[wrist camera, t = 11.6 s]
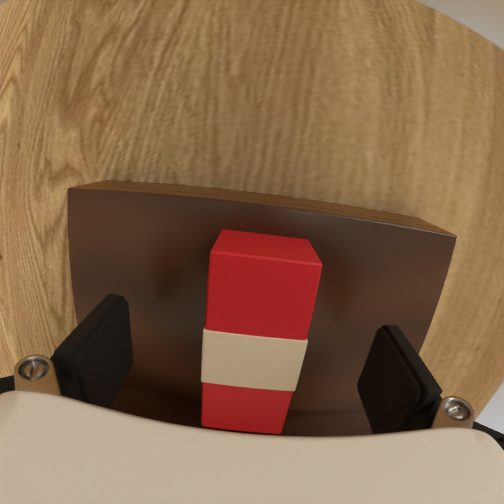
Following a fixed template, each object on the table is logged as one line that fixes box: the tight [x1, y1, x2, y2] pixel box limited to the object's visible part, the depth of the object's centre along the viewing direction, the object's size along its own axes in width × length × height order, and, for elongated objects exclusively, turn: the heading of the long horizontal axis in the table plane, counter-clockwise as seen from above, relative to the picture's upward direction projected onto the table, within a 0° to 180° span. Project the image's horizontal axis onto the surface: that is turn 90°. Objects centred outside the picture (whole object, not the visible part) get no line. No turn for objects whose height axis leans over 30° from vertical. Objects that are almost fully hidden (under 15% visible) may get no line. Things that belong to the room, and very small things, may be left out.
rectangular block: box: [201, 229, 322, 434], centre depth 12 cm, size 8×4×3 cm, turn 173°
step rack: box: [68, 180, 457, 437], centre depth 14 cm, size 21×18×10 cm
